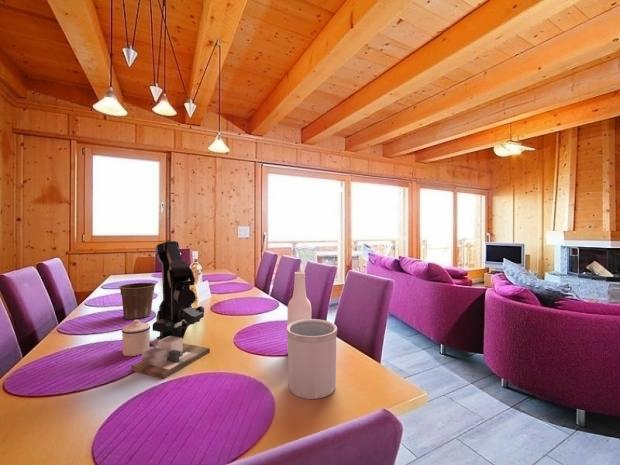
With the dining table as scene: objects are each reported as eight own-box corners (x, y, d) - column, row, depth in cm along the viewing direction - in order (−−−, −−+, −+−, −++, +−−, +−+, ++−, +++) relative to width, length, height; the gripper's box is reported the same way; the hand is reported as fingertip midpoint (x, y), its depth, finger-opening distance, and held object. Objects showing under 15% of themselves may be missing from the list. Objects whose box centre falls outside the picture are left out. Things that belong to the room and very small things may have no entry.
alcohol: (299, 346, 113) (300, 270, 113) (316, 353, 107) (316, 272, 107) (282, 353, 107) (282, 272, 107) (298, 361, 101) (299, 275, 101)
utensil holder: (296, 406, 75) (297, 339, 75) (279, 379, 89) (279, 322, 89) (346, 394, 81) (346, 331, 81) (322, 370, 95) (323, 316, 95)
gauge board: (131, 370, 93) (131, 353, 93) (180, 346, 113) (180, 332, 112) (163, 378, 88) (164, 360, 88) (209, 352, 108) (209, 337, 107)
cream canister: (155, 349, 110) (155, 318, 110) (132, 358, 102) (132, 325, 101) (134, 343, 115) (134, 314, 115) (111, 352, 107) (111, 320, 106)
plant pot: (135, 311, 160) (135, 281, 159) (162, 312, 157) (162, 282, 157) (111, 320, 144) (111, 287, 143) (140, 322, 141) (140, 288, 141)
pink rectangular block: (157, 355, 100) (158, 340, 100) (169, 349, 105) (169, 335, 105) (180, 359, 97) (180, 345, 97) (191, 354, 102) (191, 339, 102)
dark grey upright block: (169, 360, 96) (169, 351, 96) (172, 359, 98) (172, 350, 98) (175, 362, 95) (175, 353, 95) (179, 360, 96) (179, 351, 96)
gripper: (176, 309, 94) (176, 357, 94) (215, 296, 111) (215, 337, 111) (151, 305, 98) (151, 352, 98) (192, 294, 115) (192, 333, 115)
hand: (179, 343), depth 106 cm, fingers closed
